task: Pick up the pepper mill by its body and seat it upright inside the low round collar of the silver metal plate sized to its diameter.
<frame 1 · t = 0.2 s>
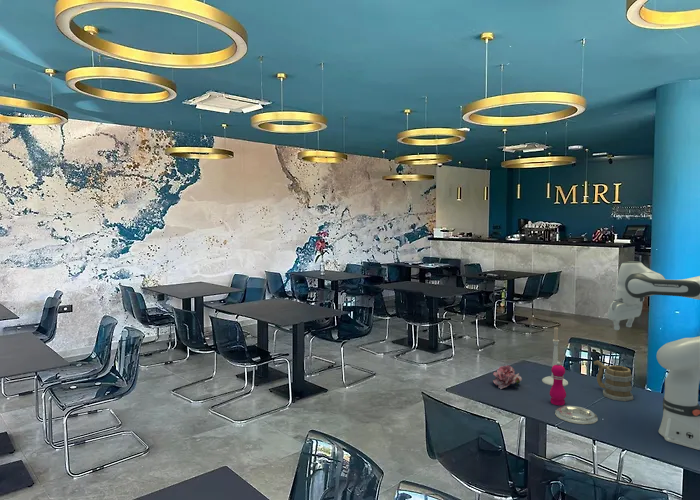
hand: (622, 328, 213), 39 cm above the table, tool pointing down, fingers open, 8 cm apart
candlestick: (555, 382, 260), on the table
pepper mill: (557, 403, 231), on the table
flower: (507, 386, 255), on the table
tankard: (611, 394, 242), on the table
silver metal plate: (576, 416, 215), on the table
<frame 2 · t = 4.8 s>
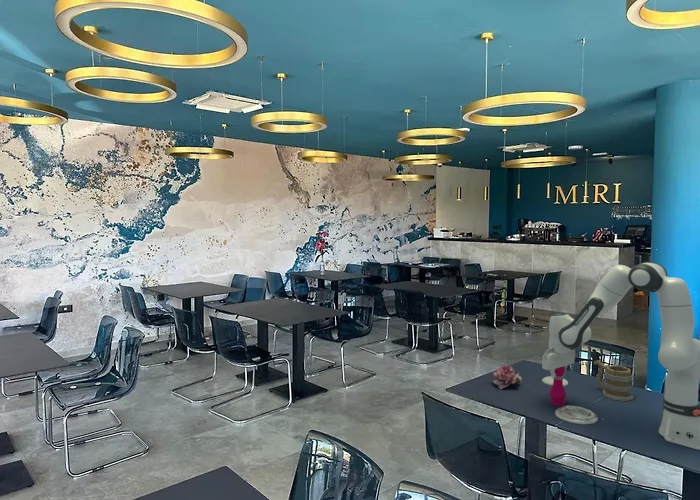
hand: (558, 376, 230), 13 cm above the table, tool pointing down, fingers closed on pepper mill, 5 cm apart
pepper mill: (557, 403, 231), on the table, touching gripper
everything else where it was.
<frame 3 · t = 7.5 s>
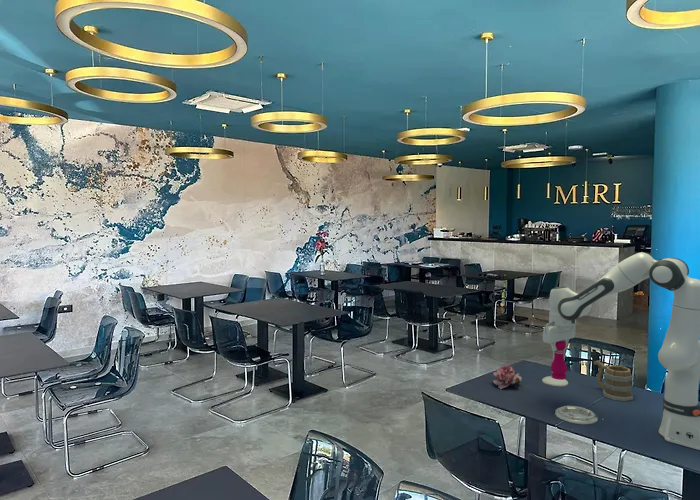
hand: (558, 349, 229), 26 cm above the table, tool pointing down, fingers closed on pepper mill, 5 cm apart
pepper mill: (558, 378, 230), point 12 cm above the table, touching gripper
everything else where it was.
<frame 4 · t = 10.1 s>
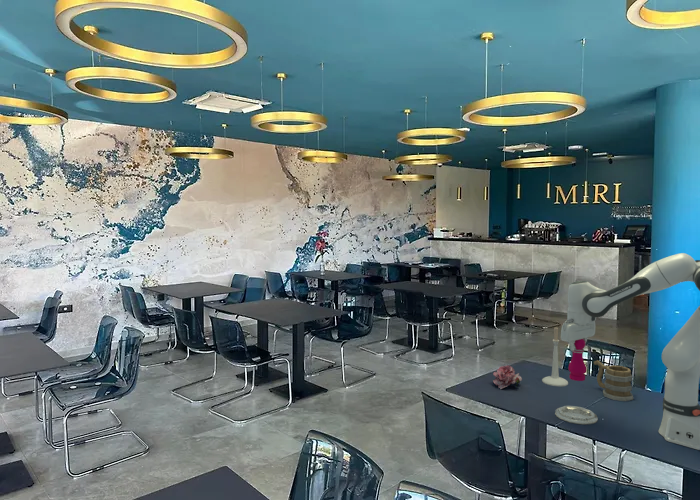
hand: (577, 349, 213), 30 cm above the table, tool pointing down, fingers closed on pepper mill, 5 cm apart
pepper mill: (577, 379, 214), point 17 cm above the table, touching gripper
everything else where it was.
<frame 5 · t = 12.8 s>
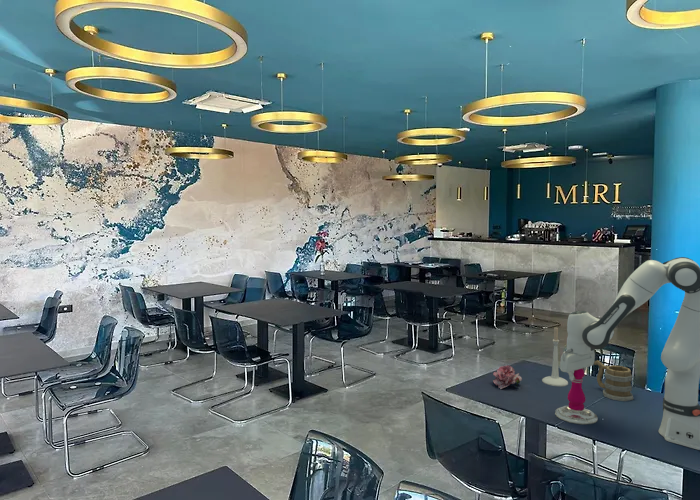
hand: (576, 378, 214), 17 cm above the table, tool pointing down, fingers closed on pepper mill, 5 cm apart
pepper mill: (576, 408, 215), point 4 cm above the table, touching gripper
everything else where it was.
when the fingers open (14 cm above the table, at t = 15.2 s): pepper mill stays where it is, resting on silver metal plate.
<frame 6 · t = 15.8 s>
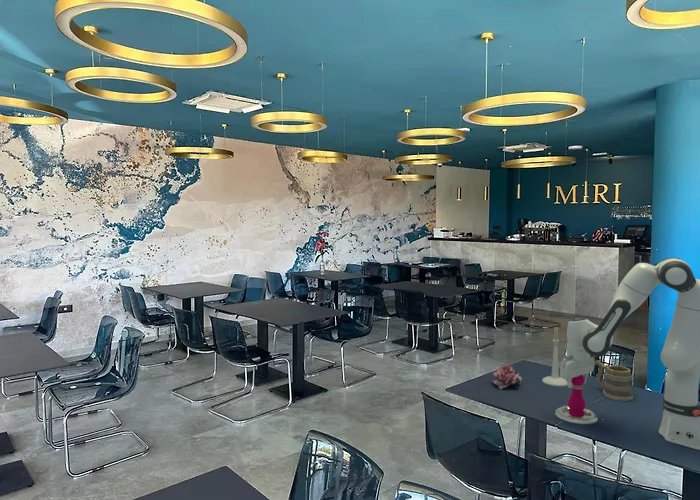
hand: (576, 385, 214), 14 cm above the table, tool pointing down, fingers open, 8 cm apart
pepper mill: (576, 414, 215), point 1 cm above the table, touching silver metal plate
everything else where it was.
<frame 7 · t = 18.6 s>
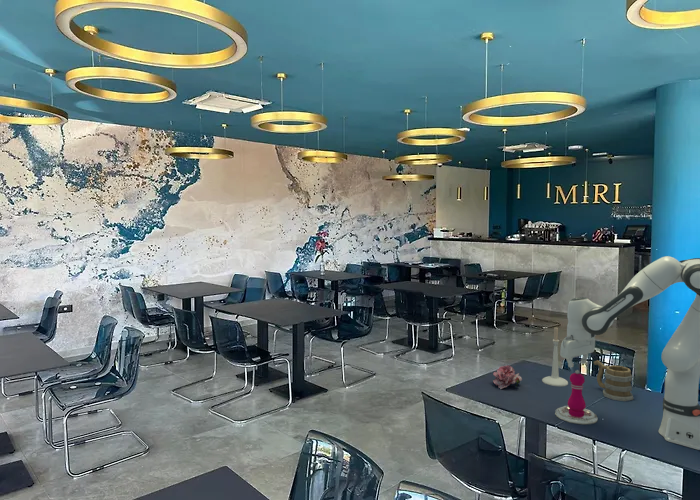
hand: (577, 365, 214), 23 cm above the table, tool pointing down, fingers open, 8 cm apart
nothing on the table moved.
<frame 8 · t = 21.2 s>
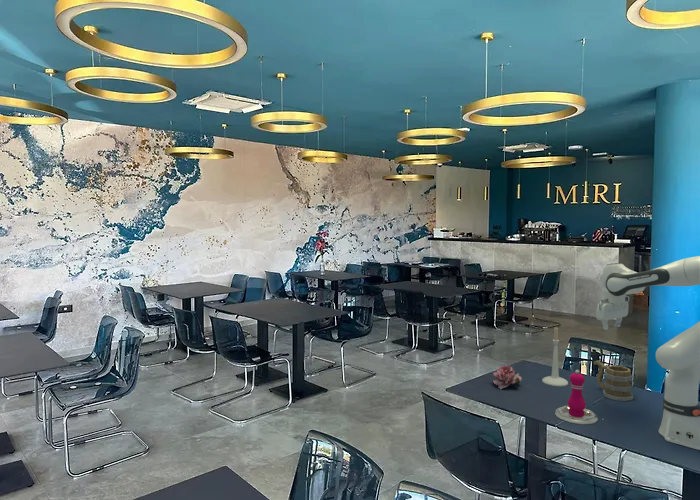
hand: (611, 328, 223), 37 cm above the table, tool pointing down, fingers open, 8 cm apart
nothing on the table moved.
at the end: pepper mill 0.1 cm off-centre on the silver metal plate, point 0.8 cm above the silver metal plate's base; pepper mill tilted 0°; the gripper is holding nothing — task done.
